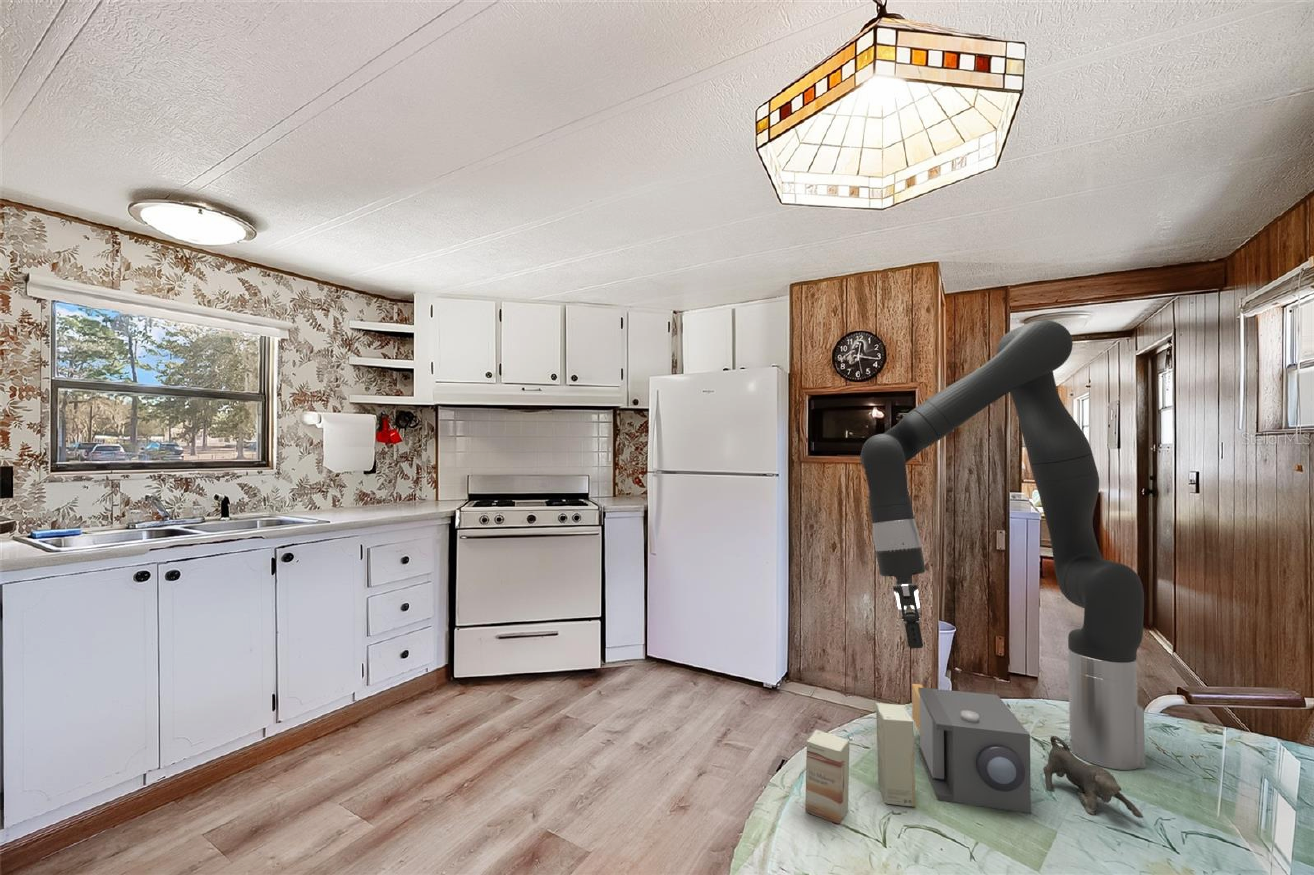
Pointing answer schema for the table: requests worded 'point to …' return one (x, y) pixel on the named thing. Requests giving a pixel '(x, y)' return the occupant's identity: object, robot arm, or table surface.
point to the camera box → (980, 750)
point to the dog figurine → (1084, 778)
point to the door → (928, 735)
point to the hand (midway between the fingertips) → (915, 643)
